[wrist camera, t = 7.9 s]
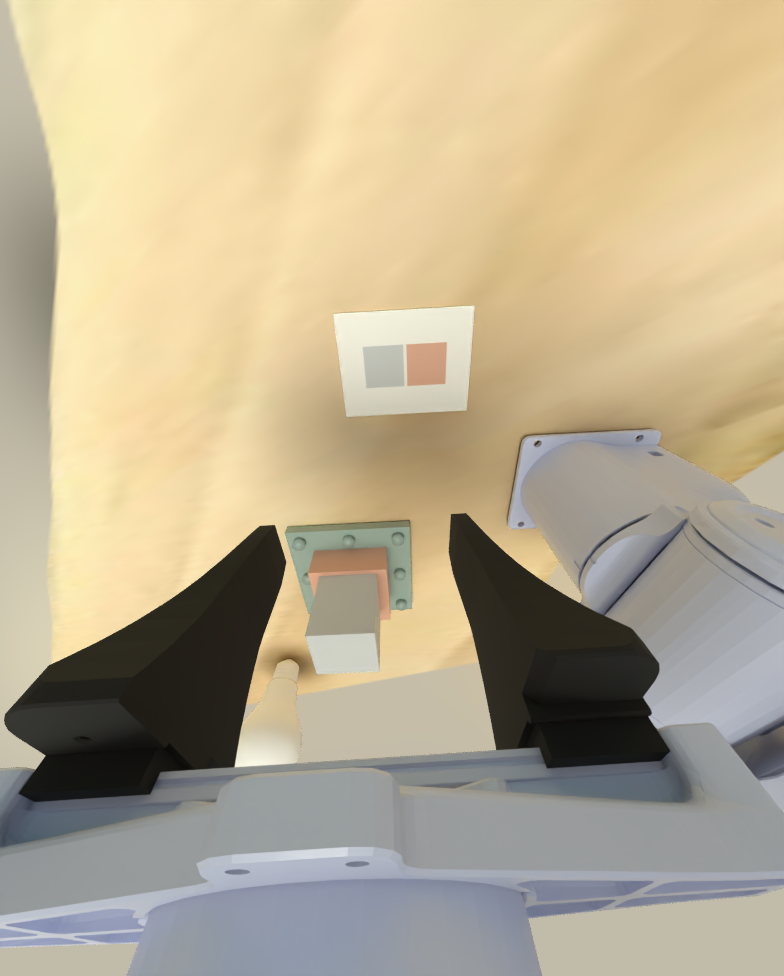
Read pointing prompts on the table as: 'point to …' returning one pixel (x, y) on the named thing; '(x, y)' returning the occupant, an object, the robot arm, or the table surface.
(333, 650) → the grey brick
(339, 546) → the build plate
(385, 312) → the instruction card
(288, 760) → the lightbulb
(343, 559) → the base brick
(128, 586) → the table surface
